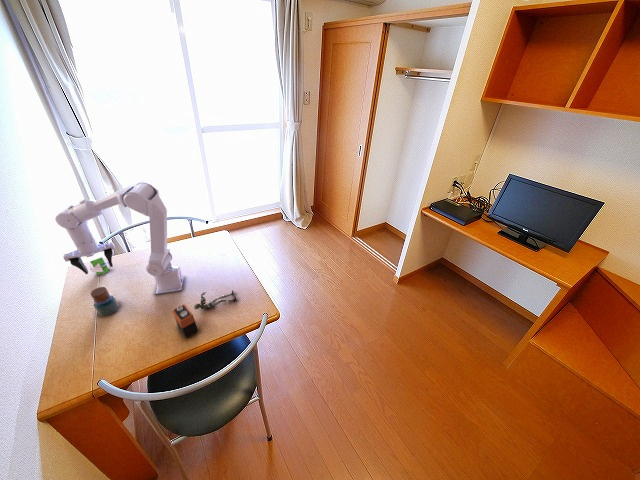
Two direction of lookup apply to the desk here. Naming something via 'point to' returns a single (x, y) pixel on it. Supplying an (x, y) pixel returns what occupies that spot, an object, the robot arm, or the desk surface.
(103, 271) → the geometric puzzle
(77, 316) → the desk surface
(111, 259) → the robot arm
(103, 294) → the brown short cylinder
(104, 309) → the ink bottle
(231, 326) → the desk surface
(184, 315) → the battery
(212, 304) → the zombie figurine
